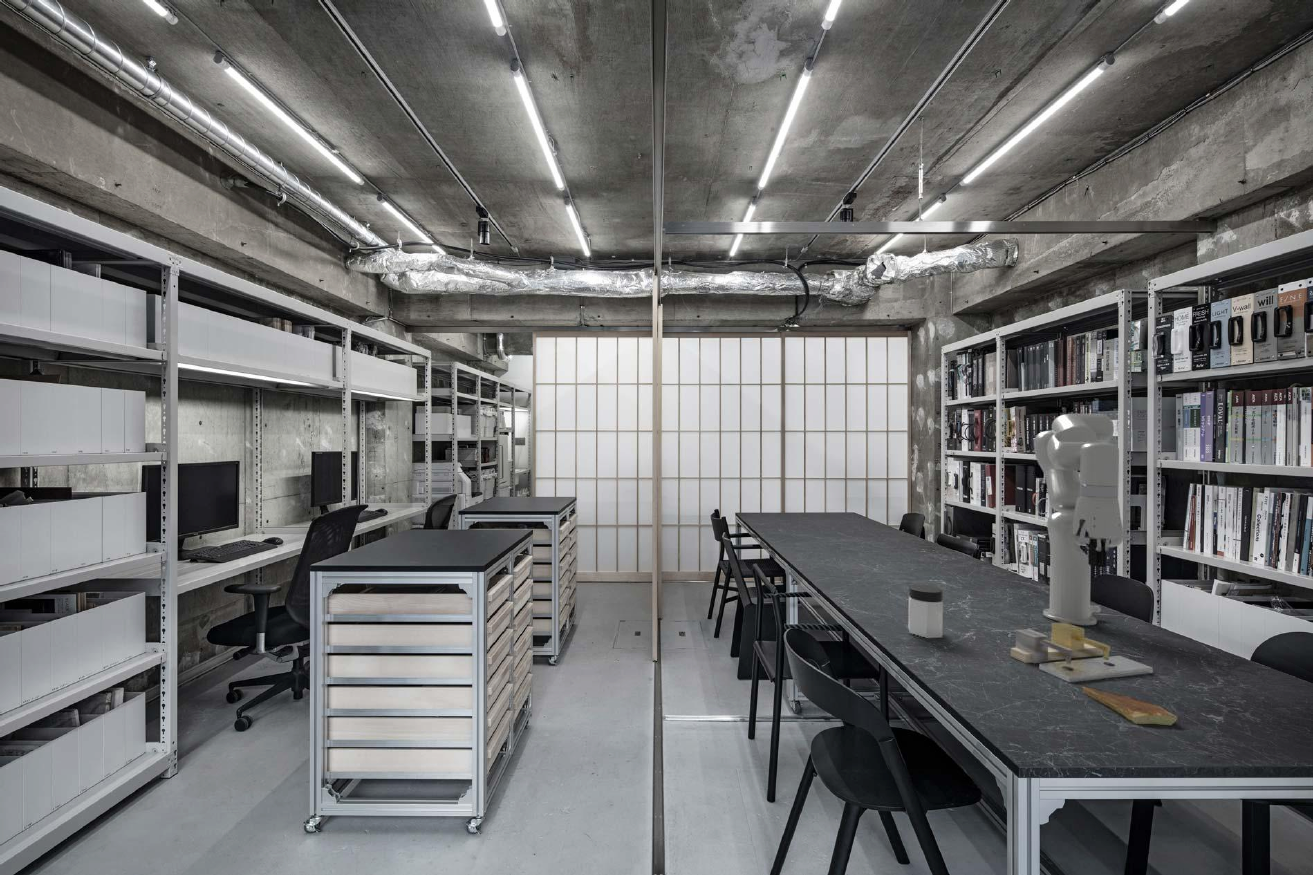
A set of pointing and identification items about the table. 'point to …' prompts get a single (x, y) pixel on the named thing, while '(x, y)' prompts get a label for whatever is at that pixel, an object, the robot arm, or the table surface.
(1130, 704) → the shard
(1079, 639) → the sliding leg
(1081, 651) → the divider rail
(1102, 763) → the table surface
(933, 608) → the jar
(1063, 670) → the bolt plate
